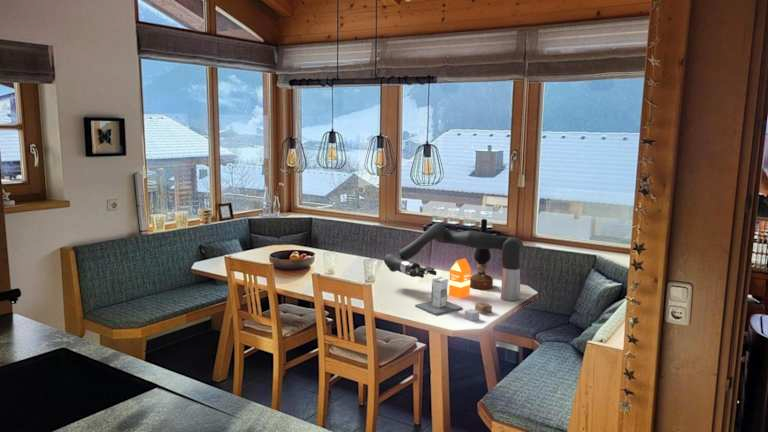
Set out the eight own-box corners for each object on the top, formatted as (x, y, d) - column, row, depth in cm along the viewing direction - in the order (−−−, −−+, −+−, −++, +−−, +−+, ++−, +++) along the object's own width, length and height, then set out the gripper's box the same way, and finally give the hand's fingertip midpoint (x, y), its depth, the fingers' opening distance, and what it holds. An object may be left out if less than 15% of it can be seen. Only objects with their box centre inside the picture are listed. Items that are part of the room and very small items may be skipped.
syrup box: (437, 303, 306) (438, 276, 303) (446, 306, 302) (448, 278, 300) (430, 305, 302) (431, 278, 299) (440, 308, 298) (441, 280, 295)
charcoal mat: (441, 300, 313) (442, 299, 313) (462, 309, 301) (462, 307, 300) (415, 306, 303) (415, 304, 303) (435, 315, 290) (435, 313, 290)
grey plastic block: (471, 316, 290) (471, 308, 290) (479, 319, 286) (479, 311, 286) (464, 318, 287) (464, 310, 286) (471, 321, 283) (472, 313, 283)
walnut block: (485, 309, 301) (485, 302, 301) (491, 313, 296) (492, 305, 295) (474, 310, 299) (475, 303, 299) (481, 314, 294) (481, 307, 293)
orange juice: (448, 295, 324) (450, 259, 320) (458, 291, 330) (459, 256, 327) (460, 298, 319) (462, 262, 315) (469, 295, 325) (471, 259, 322)
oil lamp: (467, 288, 349) (457, 221, 347) (493, 284, 349) (482, 217, 347) (471, 293, 335) (460, 223, 333) (498, 288, 335) (487, 218, 333)
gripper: (399, 263, 317) (419, 269, 304) (420, 259, 325) (440, 265, 312) (399, 277, 318) (419, 283, 305) (420, 273, 327) (439, 279, 314)
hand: (429, 274), depth 309 cm, fingers open, 8 cm apart
